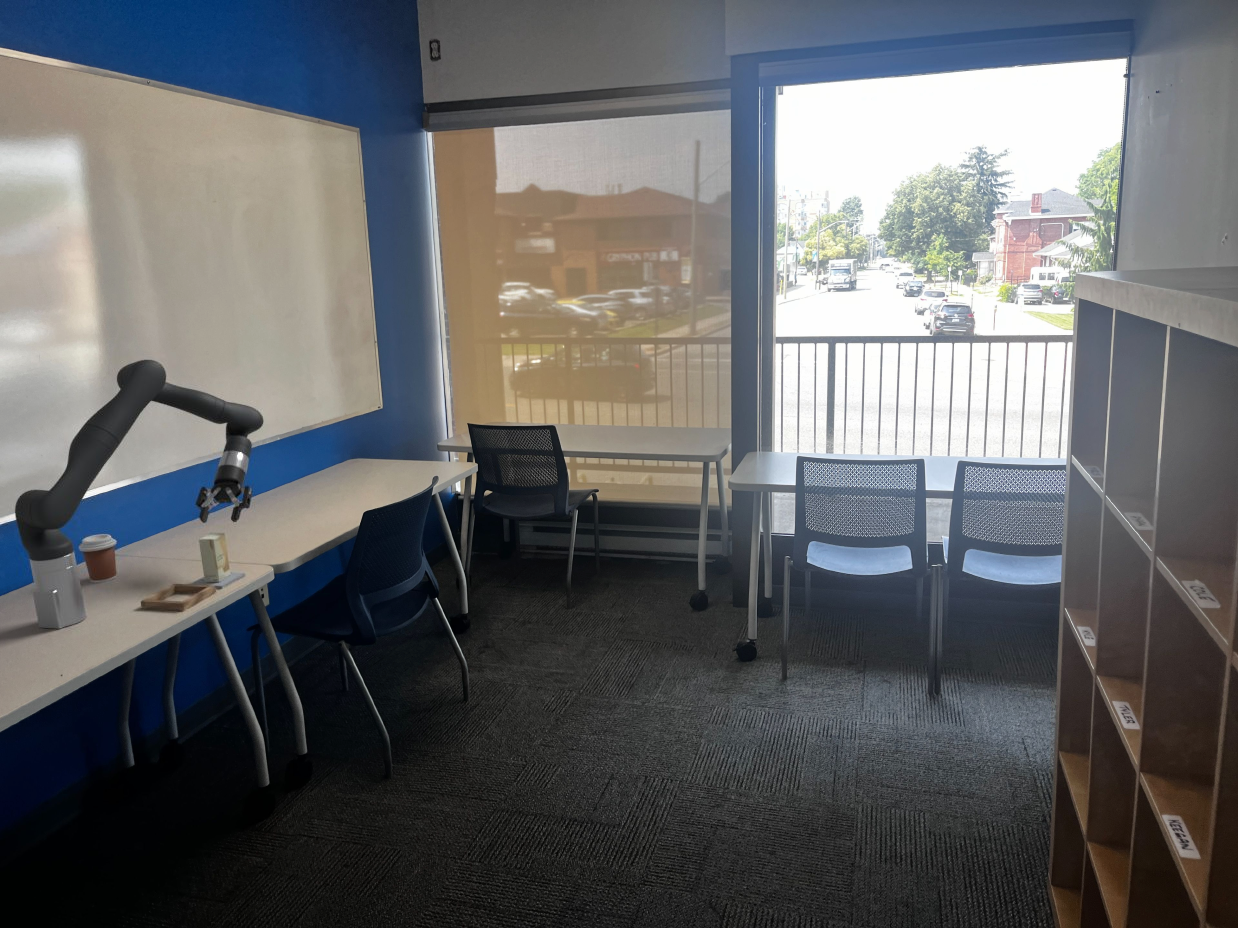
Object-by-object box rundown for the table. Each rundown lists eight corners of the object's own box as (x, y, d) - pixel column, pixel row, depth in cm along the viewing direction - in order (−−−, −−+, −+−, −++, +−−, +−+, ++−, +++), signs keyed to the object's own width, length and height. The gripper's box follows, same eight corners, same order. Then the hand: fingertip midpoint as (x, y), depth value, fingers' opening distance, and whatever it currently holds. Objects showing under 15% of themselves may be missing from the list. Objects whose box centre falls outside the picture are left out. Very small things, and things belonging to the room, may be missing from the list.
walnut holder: (184, 610, 222) (183, 603, 221) (141, 608, 224) (140, 601, 224) (216, 592, 233) (215, 585, 233) (175, 590, 236) (174, 583, 236)
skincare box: (219, 582, 239) (213, 539, 236) (204, 582, 239) (197, 539, 236) (231, 574, 245) (225, 532, 242) (216, 574, 245) (210, 532, 242)
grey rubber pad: (222, 588, 236) (221, 585, 236) (189, 587, 238) (189, 584, 238) (245, 575, 246) (244, 572, 246) (213, 574, 248) (213, 571, 248)
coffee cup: (85, 576, 250) (78, 536, 247) (122, 570, 254) (115, 530, 251) (84, 586, 242) (76, 545, 239) (122, 580, 246) (114, 539, 243)
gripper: (201, 464, 247) (186, 515, 239) (251, 462, 246) (237, 514, 238) (213, 478, 253) (199, 528, 245) (262, 476, 253) (249, 527, 244)
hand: (218, 521), depth 241 cm, fingers open, 8 cm apart
